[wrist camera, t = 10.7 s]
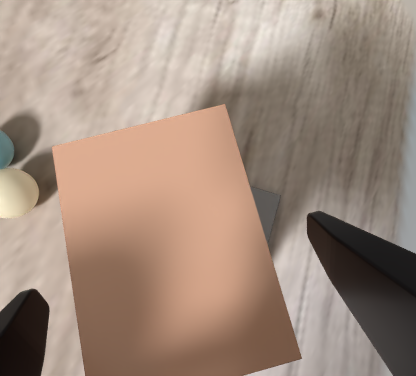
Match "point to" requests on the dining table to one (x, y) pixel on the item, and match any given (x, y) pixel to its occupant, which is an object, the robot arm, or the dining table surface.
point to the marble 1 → (5, 150)
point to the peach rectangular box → (170, 253)
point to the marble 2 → (17, 193)
